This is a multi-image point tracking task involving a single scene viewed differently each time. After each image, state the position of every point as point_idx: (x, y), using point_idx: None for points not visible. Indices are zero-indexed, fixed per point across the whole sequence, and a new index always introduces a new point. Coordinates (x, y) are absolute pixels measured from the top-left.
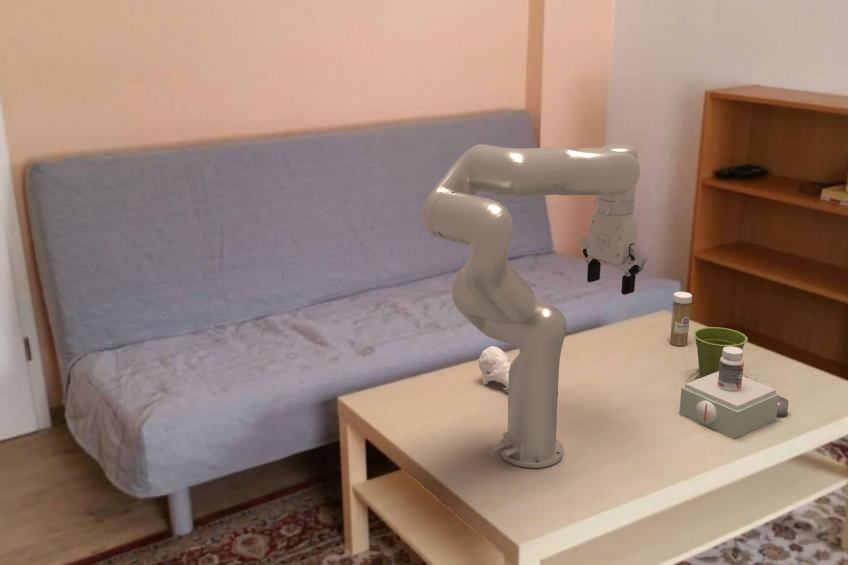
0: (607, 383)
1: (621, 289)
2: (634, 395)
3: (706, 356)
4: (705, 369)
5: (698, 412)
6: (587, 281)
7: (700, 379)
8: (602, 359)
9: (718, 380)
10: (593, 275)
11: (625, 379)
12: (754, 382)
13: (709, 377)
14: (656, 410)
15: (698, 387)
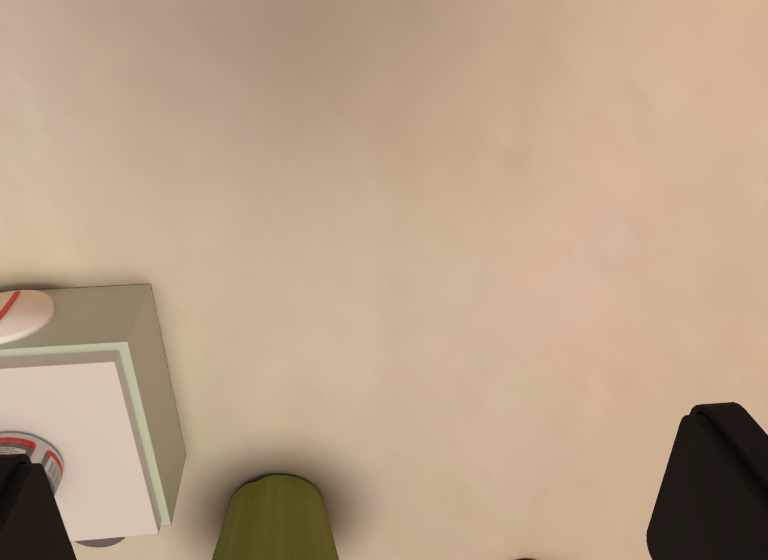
0: (475, 247)
1: (9, 504)
2: (345, 258)
3: (264, 549)
4: (271, 510)
5: (43, 304)
6: (729, 403)
7: (123, 427)
8: (613, 356)
9: (28, 453)
10: (718, 528)
11: (456, 316)
12: None
13: (122, 460)
14: (209, 238)
15: (61, 378)
